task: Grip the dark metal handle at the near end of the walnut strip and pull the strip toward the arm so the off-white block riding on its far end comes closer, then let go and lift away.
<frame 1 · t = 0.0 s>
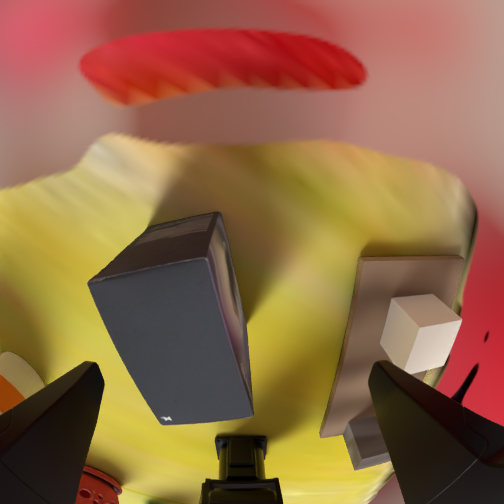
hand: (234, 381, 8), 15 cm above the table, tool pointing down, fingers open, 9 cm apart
off-white block: (407, 318, 24), point 1 cm above the table, touching walnut strip
walnut strip: (401, 381, 23), point 4 cm above the table, slide at 0.0 cm, touching off-white block
reusable coffee cup: (23, 375, 27), on the table
plant pot: (95, 473, 37), on the table
small box: (200, 279, 23), on the table
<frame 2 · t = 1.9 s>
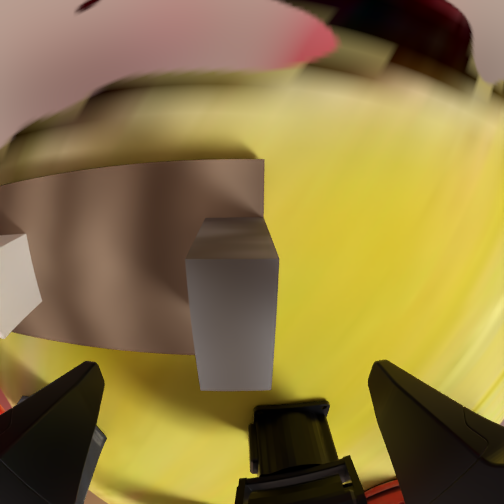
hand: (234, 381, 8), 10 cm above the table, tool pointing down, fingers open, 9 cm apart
off-white block: (12, 268, 15), point 1 cm above the table, touching walnut strip
walnut strip: (50, 286, 13), point 4 cm above the table, slide at 0.0 cm, touching off-white block
plant pot: (377, 489, 34), on the table
small box: (61, 415, 23), on the table
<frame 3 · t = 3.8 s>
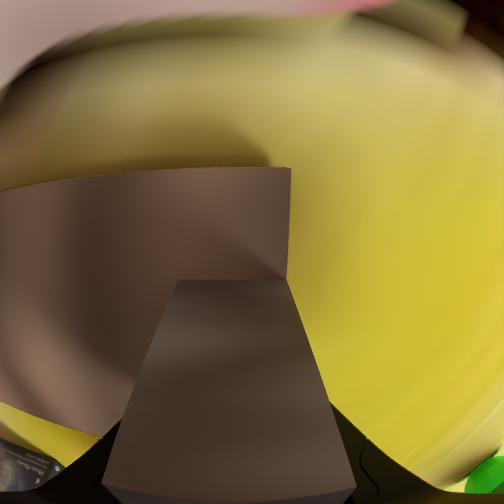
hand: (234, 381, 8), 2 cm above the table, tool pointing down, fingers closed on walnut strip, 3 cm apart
plastic bottle: (480, 465, 23), on the table
small box: (40, 462, 16), on the table
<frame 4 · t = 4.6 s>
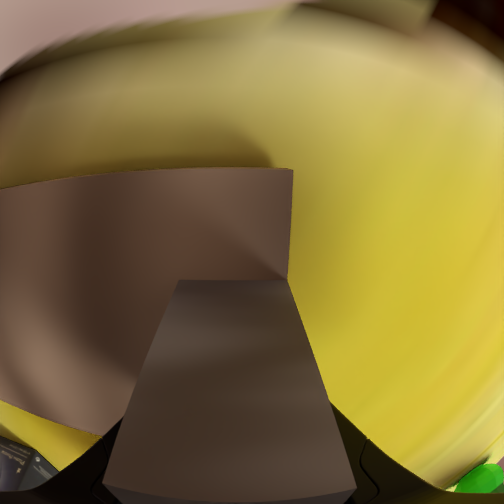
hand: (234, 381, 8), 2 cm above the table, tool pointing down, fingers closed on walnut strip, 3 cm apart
plastic bottle: (470, 472, 23), on the table
small box: (24, 453, 15), on the table
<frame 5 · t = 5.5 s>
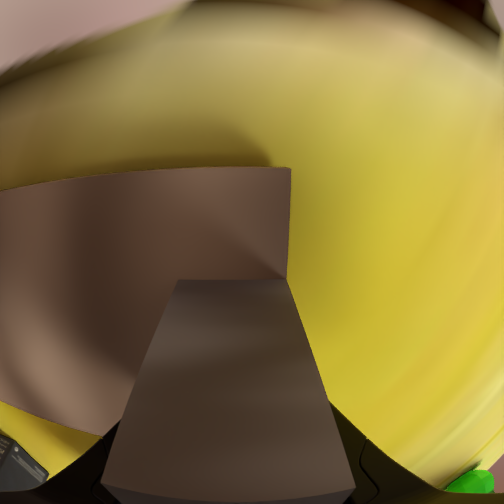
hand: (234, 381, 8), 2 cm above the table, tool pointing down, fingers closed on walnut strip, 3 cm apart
plastic bottle: (459, 478, 23), on the table
small box: (7, 445, 15), on the table
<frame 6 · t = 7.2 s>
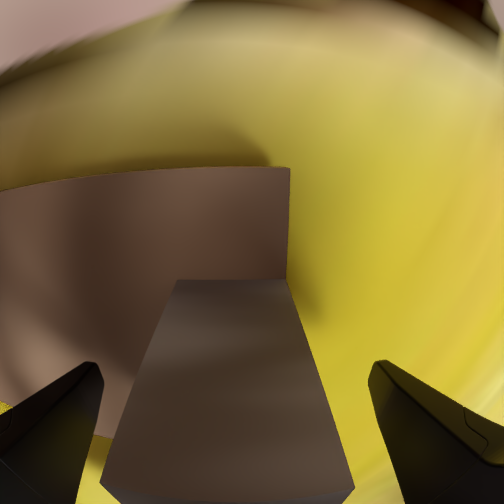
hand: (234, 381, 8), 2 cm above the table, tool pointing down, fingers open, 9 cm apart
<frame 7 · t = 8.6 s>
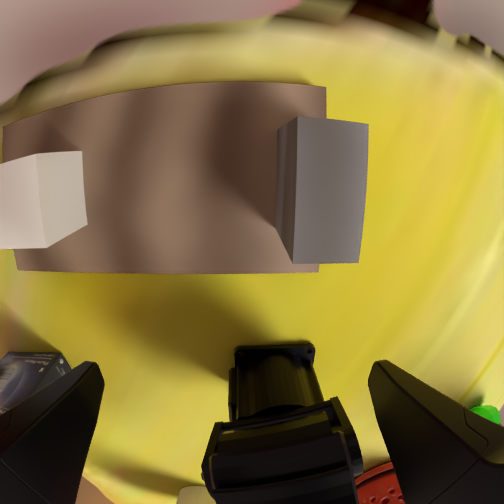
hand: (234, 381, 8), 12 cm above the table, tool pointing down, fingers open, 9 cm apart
off-white block: (56, 191, 16), point 1 cm above the table, touching walnut strip
walnut strip: (113, 188, 14), point 4 cm above the table, slide at 5.4 cm, touching off-white block
reusable coffee cup: (206, 494, 33), on the table
plant pot: (376, 473, 34), on the table
plastic bottle: (466, 416, 31), on the table
small box: (45, 370, 23), on the table
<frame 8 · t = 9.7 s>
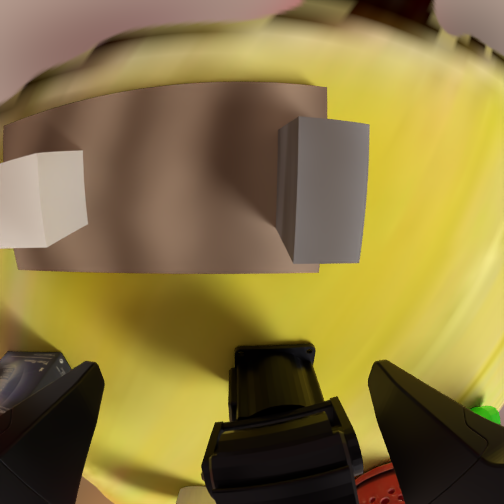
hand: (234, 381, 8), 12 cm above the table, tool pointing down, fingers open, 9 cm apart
off-white block: (56, 190, 16), point 1 cm above the table, touching walnut strip
walnut strip: (114, 188, 14), point 4 cm above the table, slide at 5.4 cm, touching off-white block
reusable coffee cup: (206, 494, 33), on the table
plant pot: (375, 473, 34), on the table
plastic bottle: (466, 416, 31), on the table
small box: (44, 370, 23), on the table
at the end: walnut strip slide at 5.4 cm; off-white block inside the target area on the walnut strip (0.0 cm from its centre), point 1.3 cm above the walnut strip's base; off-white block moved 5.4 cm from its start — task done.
